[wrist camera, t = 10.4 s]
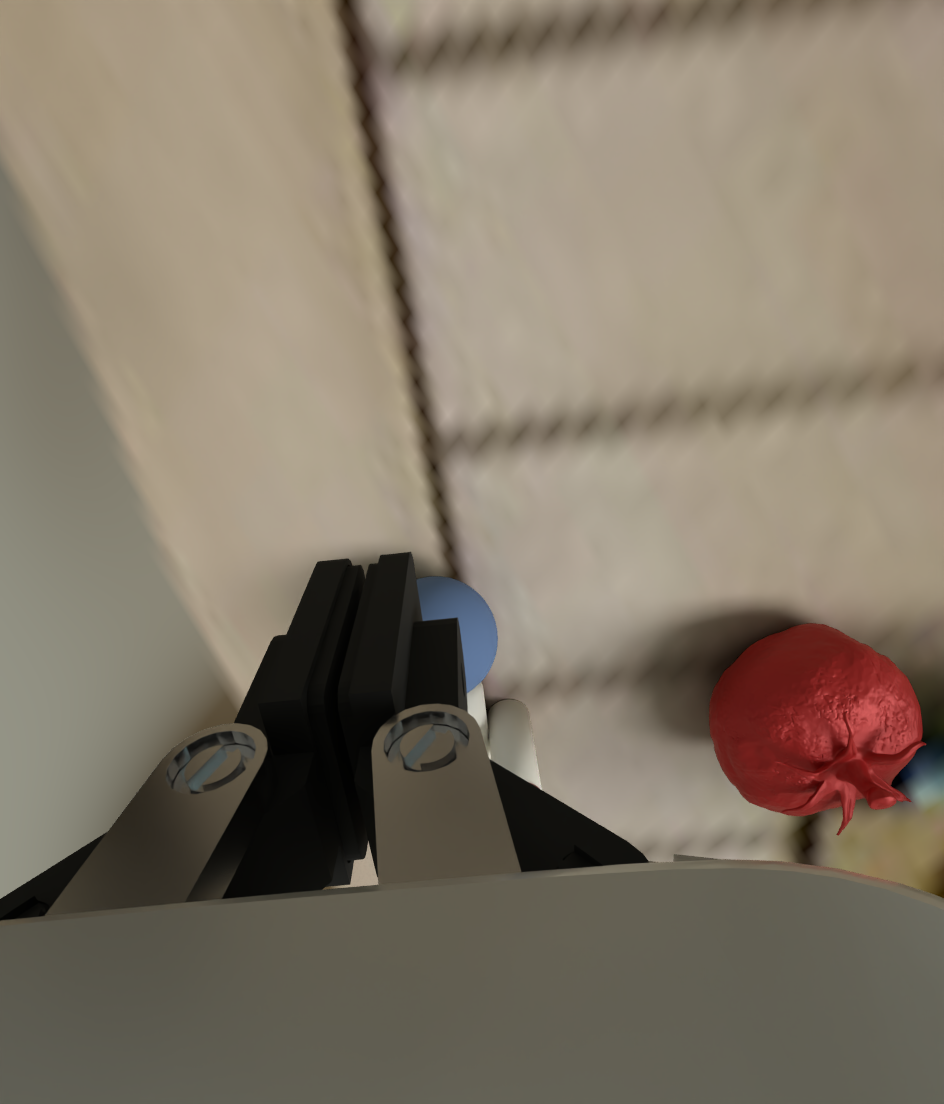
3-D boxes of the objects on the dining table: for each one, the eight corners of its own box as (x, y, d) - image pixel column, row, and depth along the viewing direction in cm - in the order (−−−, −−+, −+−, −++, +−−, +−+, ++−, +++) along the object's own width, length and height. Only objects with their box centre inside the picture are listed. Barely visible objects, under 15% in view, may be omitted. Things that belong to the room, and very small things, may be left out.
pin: (484, 700, 36) (493, 822, 29) (528, 696, 36) (549, 817, 29) (488, 734, 37) (498, 861, 30) (531, 730, 37) (551, 856, 30)
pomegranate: (658, 671, 36) (716, 799, 28) (821, 572, 34) (939, 679, 25) (744, 774, 39) (819, 916, 31) (899, 691, 37) (1026, 821, 28)
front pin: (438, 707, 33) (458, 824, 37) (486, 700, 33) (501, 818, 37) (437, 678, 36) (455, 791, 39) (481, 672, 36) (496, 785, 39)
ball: (389, 685, 34) (386, 573, 34) (501, 685, 34) (498, 571, 34) (359, 717, 28) (356, 582, 28) (496, 718, 28) (493, 579, 28)
